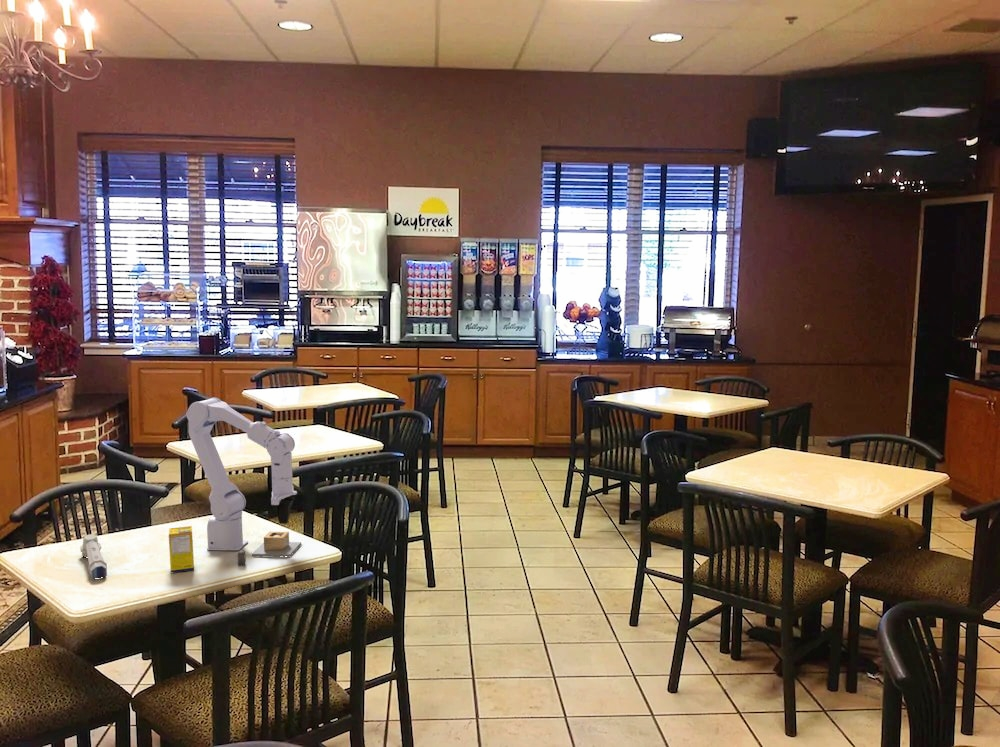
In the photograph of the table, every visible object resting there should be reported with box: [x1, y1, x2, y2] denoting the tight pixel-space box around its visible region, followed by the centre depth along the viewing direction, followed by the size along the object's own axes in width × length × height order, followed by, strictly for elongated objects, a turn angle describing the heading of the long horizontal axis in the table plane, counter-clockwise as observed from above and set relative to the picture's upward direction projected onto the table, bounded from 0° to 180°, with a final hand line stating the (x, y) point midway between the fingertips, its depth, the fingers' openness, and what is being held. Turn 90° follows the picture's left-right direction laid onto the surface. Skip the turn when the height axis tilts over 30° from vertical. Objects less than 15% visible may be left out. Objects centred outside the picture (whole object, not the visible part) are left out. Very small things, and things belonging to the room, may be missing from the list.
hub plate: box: [251, 535, 302, 558], centre depth 242 cm, size 11×11×4 cm
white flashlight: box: [79, 533, 108, 580], centre depth 230 cm, size 5×7×25 cm
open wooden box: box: [263, 531, 290, 551], centre depth 242 cm, size 6×6×4 cm
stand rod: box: [236, 550, 246, 567], centre depth 231 cm, size 2×2×4 cm
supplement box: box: [168, 525, 195, 573], centre depth 227 cm, size 6×6×11 cm
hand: (283, 522), depth 241 cm, fingers closed
